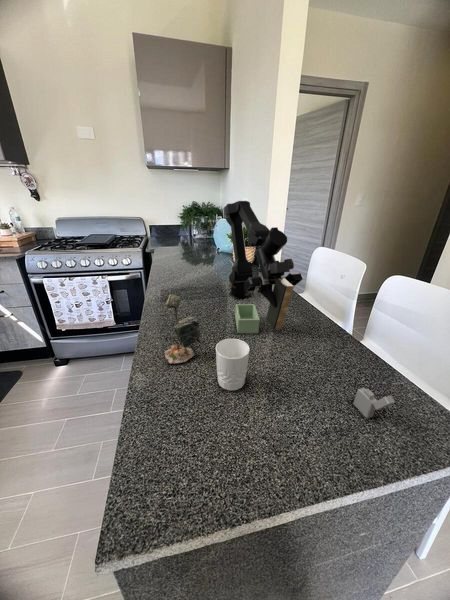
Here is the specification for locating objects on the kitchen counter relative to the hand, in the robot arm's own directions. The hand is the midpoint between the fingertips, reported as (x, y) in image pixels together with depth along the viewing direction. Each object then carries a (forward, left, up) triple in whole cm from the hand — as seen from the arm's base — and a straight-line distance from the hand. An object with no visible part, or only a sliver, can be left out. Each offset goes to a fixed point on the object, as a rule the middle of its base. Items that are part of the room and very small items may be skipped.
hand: (280, 306), depth 78 cm
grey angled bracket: (+8, +34, -10) cm, 36 cm away
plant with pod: (+31, -7, -10) cm, 33 cm away
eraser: (0, -2, -7) cm, 7 cm away
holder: (+5, -10, -10) cm, 15 cm away
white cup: (+26, +9, -10) cm, 29 cm away
